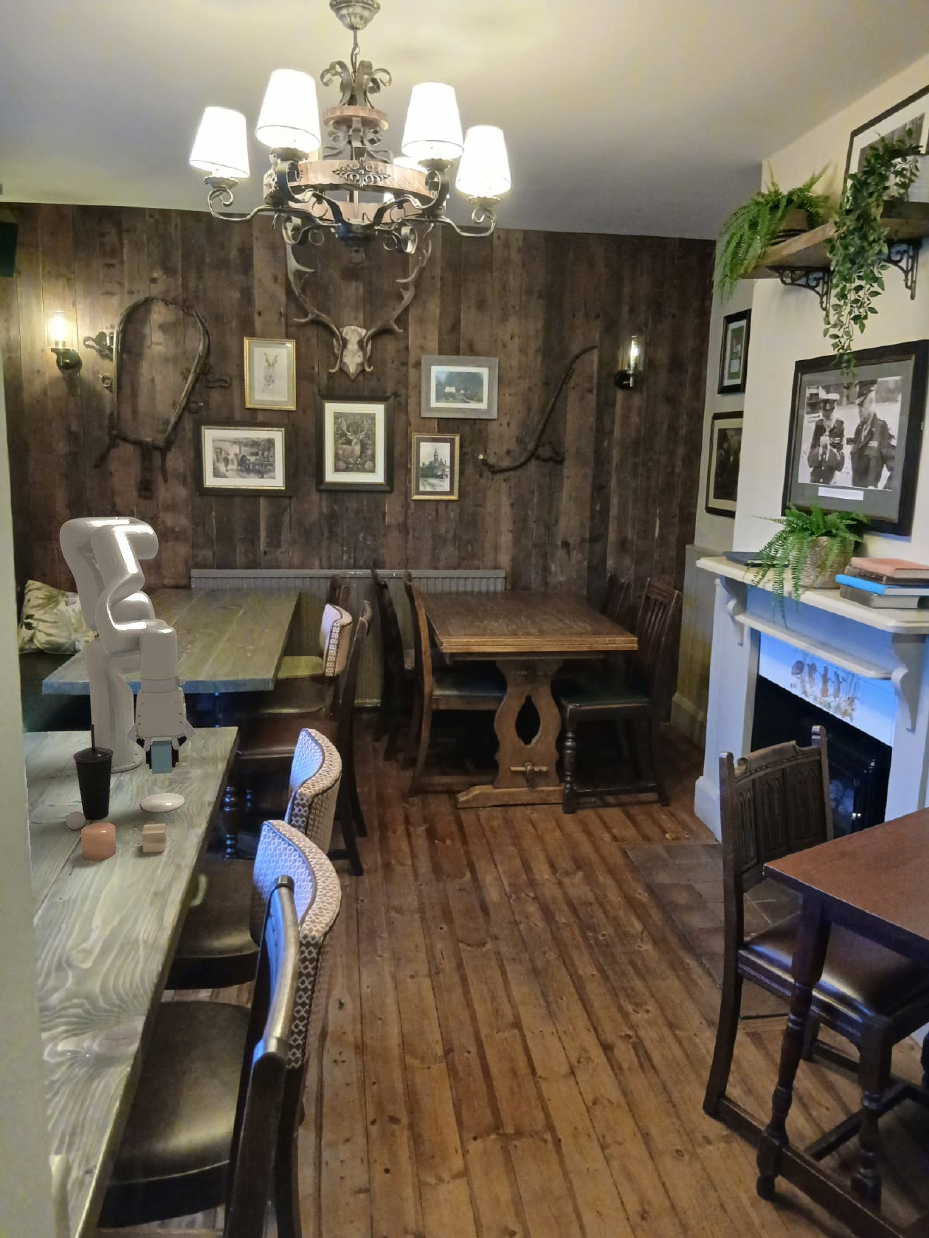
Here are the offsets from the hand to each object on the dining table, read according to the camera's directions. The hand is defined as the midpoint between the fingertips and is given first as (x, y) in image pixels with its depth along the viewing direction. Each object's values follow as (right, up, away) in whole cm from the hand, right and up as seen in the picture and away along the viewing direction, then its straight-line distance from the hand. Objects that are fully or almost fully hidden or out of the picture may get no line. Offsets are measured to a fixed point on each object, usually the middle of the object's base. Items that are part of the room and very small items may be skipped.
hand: (162, 765), depth 189 cm
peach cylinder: (-5, -13, -21) cm, 26 cm away
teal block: (0, -1, 0) cm, 1 cm away
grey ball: (-14, -11, -11) cm, 21 cm away
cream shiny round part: (-1, -9, +2) cm, 9 cm away
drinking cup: (-12, -10, -5) cm, 16 cm away
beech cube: (+5, -13, -18) cm, 23 cm away
